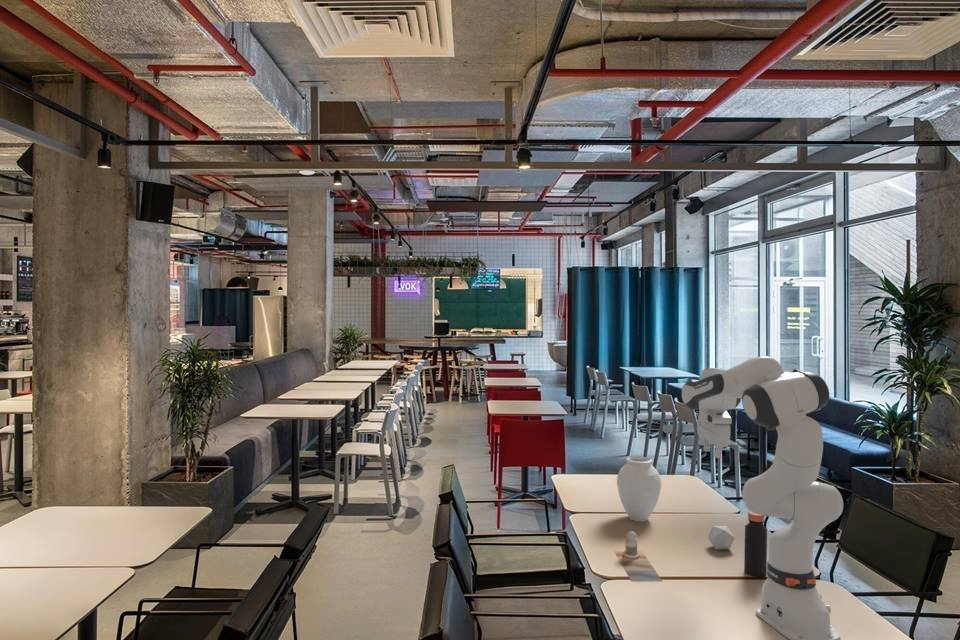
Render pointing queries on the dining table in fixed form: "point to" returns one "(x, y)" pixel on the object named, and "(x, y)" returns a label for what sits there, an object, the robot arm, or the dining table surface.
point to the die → (721, 537)
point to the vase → (639, 487)
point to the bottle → (755, 546)
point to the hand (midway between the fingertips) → (712, 454)
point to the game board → (638, 568)
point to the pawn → (631, 546)
